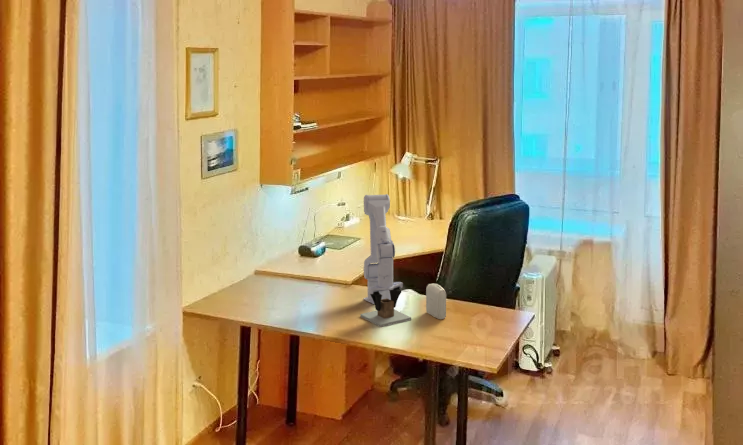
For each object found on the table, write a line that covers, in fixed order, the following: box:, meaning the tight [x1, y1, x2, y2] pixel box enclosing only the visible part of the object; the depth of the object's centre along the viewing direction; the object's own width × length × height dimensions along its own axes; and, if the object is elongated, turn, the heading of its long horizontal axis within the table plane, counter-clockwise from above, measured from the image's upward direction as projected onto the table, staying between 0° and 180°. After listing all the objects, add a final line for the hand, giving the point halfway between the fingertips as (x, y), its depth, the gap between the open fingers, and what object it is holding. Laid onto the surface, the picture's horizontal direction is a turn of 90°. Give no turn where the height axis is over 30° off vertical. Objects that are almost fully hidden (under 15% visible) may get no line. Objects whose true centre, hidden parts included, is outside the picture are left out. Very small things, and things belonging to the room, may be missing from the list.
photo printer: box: [425, 283, 447, 320], centre depth 324 cm, size 10×4×12 cm, turn 26°
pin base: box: [359, 308, 412, 328], centre depth 321 cm, size 14×14×5 cm
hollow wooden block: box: [378, 298, 395, 318], centre depth 321 cm, size 4×4×6 cm
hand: (385, 308), depth 321 cm, fingers open, 6 cm apart
